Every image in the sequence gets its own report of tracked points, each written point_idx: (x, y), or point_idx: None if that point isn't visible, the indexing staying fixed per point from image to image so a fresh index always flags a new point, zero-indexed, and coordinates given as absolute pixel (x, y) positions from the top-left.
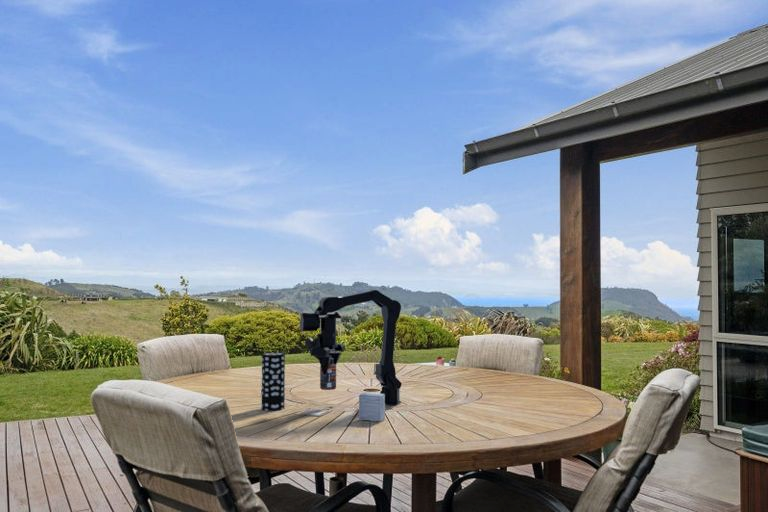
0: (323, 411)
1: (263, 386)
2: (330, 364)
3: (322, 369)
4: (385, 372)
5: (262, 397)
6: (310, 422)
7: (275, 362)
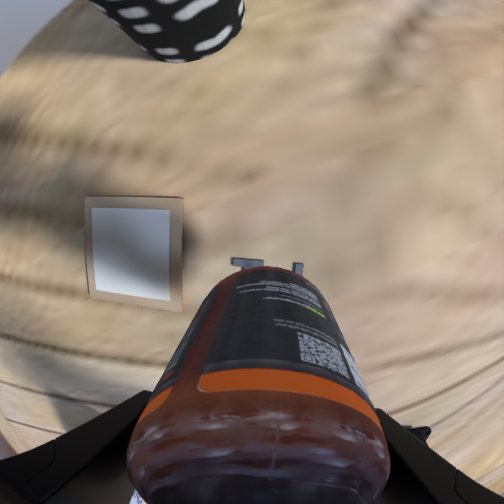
0: (154, 293)
1: None
2: None
3: (101, 421)
4: None
5: None
6: (26, 290)
7: None
